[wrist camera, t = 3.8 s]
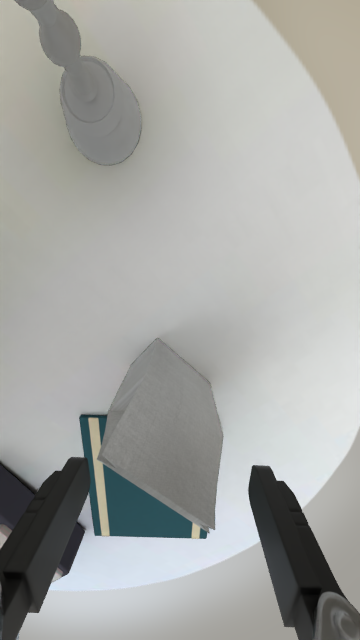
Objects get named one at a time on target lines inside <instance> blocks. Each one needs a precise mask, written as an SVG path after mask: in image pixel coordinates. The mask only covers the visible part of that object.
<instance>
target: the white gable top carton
mask: <svg viewBox="0 0 360 640" xmlns="http://www.w3.org/2000/svg"><path fill="white" fill-rule="evenodd" d="M223 437H224V436H223V432H222V428H221V424H220V420H219V416H218V412H217V408H216V404H215V400H214V396H213V392H212V388H211V384H210V383H209V382H208V381H207V380H206V379H205V378H204V377H203V376H201V375H200V374H199V373H198V372H197V371H196V370H194V369H193V368H192V367H191V366H190V365H189V364H188V363H186V362H185V361H184V360H183V359H182V358H181V357H179V356H178V355H177V354H176V353H175V352H174V351H173V350H171V349H170V348H169V347H168V346H167V345H166V344H165V343H163V342H162V341H161V340H160V339H159V338H157V339H156V340H155V341H154V342H153V343H152V344H151V345H150V346H149V347H148V348H147V349H146V350H145V351H144V352H143V353H142V354H141V355H140V356H139V357H138V358H137V359H136V360H135V361H134V362H133V363H132V364H131V366H130V368H129V370H128V372H127V374H126V376H125V378H124V380H123V382H122V384H121V386H120V388H119V390H118V392H117V394H116V396H115V398H114V400H113V402H112V404H111V406H110V408H109V410H108V415H107V422H106V428H105V433H104V437H103V441H102V445H101V448H100V451H99V454H98V457H97V460H98V461H100V462H101V463H103V464H104V465H106V466H107V467H109V468H110V469H112V470H113V471H115V472H116V473H118V474H119V475H121V476H122V477H124V478H126V479H127V480H129V481H130V482H132V483H133V484H135V485H136V486H138V487H139V488H141V489H142V490H144V491H145V492H147V493H148V494H150V495H151V496H153V497H155V498H156V499H158V500H159V501H161V502H162V503H164V504H165V505H167V506H168V507H170V508H171V509H173V510H174V511H176V512H177V513H179V514H180V515H182V516H184V517H185V518H187V519H188V520H190V521H191V522H193V523H194V524H196V525H197V526H199V527H200V528H202V529H203V530H205V531H206V532H208V533H209V529H208V527H209V528H211V529H214V530H215V503H216V492H217V481H218V474H219V466H220V459H221V451H222V444H223ZM209 534H210V533H209Z"/></svg>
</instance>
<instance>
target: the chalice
mask: <svg viewBox="0 0 360 640" xmlns="http://www.w3.org/2000/svg"><path fill="white" fill-rule="evenodd" d="M15 1H16V2H17V3H18V4H19V5H20V6H22V7H23V8H25V9H27V10H29V11H30V12H31V13H32V14H33V15H34V16H35V18H36V19H37V20H38V23H39V26H40V29H39V36H40V42H41V45H42V48H43V50H44V52H45V54H46V55H47V57H48V58H49V59H50V60H51V61H52V62H53V63H54V64H56V65H58V66H61V67H64V68H65V71H64V73H63V75H62V78H61V84H60V99H61V105H62V108H63V112H64V116H65V119H66V125H67V128H68V131H69V134H70V137H71V139H72V141H73V142H74V144H75V145H76V147H77V148H78V150H79V151H80V152H81V153H82V154H83V155H84V156H86V157H87V158H88V159H89V160H91V161H93V162H96V163H98V164H101V165H113V164H117V163H120V162H122V161H123V160H125V159H126V158H127V157H128V156H130V155H131V154H132V152H133V150H134V149H135V147H136V145H137V144H138V140H139V136H140V133H141V113H140V109H139V105H138V102H137V99H136V97H135V96H134V94H133V92H132V90H131V88H130V87H129V86H128V85H127V84H126V83H125V82H124V81H123V80H122V79H121V78H120V77H119V76H118V75H117V74H116V73H115V72H114V70H113V69H112V68H111V67H110V66H109V65H108V64H107V63H106V62H105V61H103V60H101V59H99V58H97V57H94V56H81V57H80V49H81V38H80V33H79V30H78V27H77V25H76V24H75V22H74V20H73V19H72V18H71V17H70V16H69V15H68V14H67V13H66V12H64V11H62V10H59V9H58V8H57V6H56V5H55V4H54V1H53V0H15Z"/></svg>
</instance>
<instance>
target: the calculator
mask: <svg viewBox="0 0 360 640" xmlns="http://www.w3.org/2000/svg"><path fill="white" fill-rule="evenodd" d="M34 496H35V495H34V494H33V493H32V492H31V491H30V490H29V489H28V488H27V487H25V486H24V485H23V484H22V483H21V482H20V481H19V480H17V479H16V478H15V477H14V476H13V475H12V474H11V473H10V472H8V471H7V470H6V469H5V468H4V467H3V466H2V465H1V464H0V549H1V547H2V546H3V544H4V543H5V541H6V540H7V538H8V537H9V535H10V533H11V532H12V530H13V529H14V527H15V526H16V524H17V523H18V521H19V519H20V518H21V516H22V515H23V513H25V511H26V509H27V507H28V505H29V504H30V502H31V501H32V500H33V499H34ZM84 533H85V531H84V529H83V528H82V527H80V526H79V525H78V524H77V523H76V524H75V527H74V529H73V532H72V534H71V536H70V539H69V541H68V544H67V546H66V548H65V551H64V553H63V556H62V558H61V560H60V563H59V565H58V568H57V570H56V572H55V575H54V577H53V580H52V582H54V581H56V580H58V579H60V578H61V577H63V576H65V575H67V574H68V573H69V571H70V569H71V566H72V564H73V561H74V559H75V556H76V554H77V551H78V549H79V546H80V543H81V541H82V538H83V536H84ZM52 582H51V583H52Z"/></svg>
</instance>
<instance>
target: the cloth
mask: <svg viewBox="0 0 360 640" xmlns="http://www.w3.org/2000/svg"><path fill="white" fill-rule="evenodd" d="M79 419H80V427H81V434H82V442H83V450H84V457H85V458H87V459H88V464H89V472H90V479H91V482H90V488H89V496H90V503H91V511H92V519H93V526H94V534H95V536H128V537H164V538H192V539H199V538H200V539H206V538H207V532H206V531H205V530H203V529H202V528H200V527H199V526H197V525H196V524H194V523H193V522H191V521H190V520H188V519H187V518H185V517H184V516H182V515H180V514H179V513H177V512H176V511H174V510H173V509H171V508H170V507H168V506H167V505H165V504H164V503H162V502H161V501H159V500H158V499H156V498H155V497H153V496H151V495H150V494H148V493H147V492H145V491H144V490H142V489H141V488H139V487H138V486H136V485H135V484H133V483H132V482H130V481H129V480H127V479H126V478H124V477H122V476H121V475H119V474H118V473H116V472H115V471H113V470H112V469H110V468H109V467H107V466H106V465H104V464H103V463H101V462H100V461H98V460H97V457H98V454H99V451H100V448H101V445H102V441H103V437H104V433H105V428H106V422H107V416H103V415H81V416H80V417H79Z"/></svg>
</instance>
